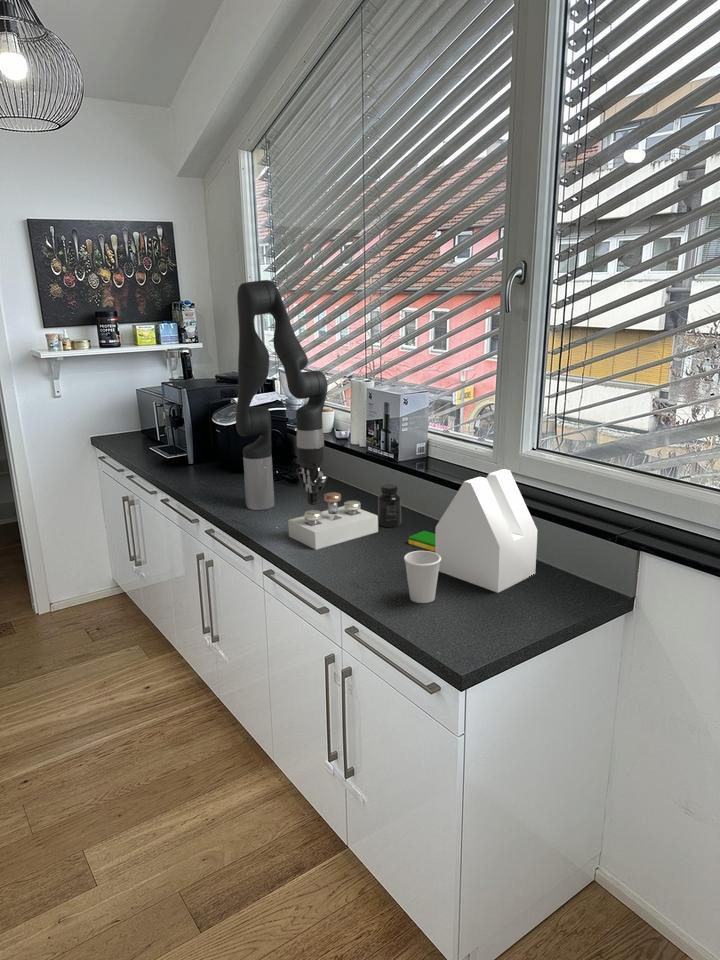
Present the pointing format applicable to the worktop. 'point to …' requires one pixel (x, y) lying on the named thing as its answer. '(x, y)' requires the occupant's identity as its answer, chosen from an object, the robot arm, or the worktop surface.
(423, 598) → the dixie cup
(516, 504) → the white house-shaped block
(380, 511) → the supplement bottle
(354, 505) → the knob
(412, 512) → the worktop surface
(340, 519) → the mount
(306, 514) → the knob
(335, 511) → the knob centre
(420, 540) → the dish sponge
